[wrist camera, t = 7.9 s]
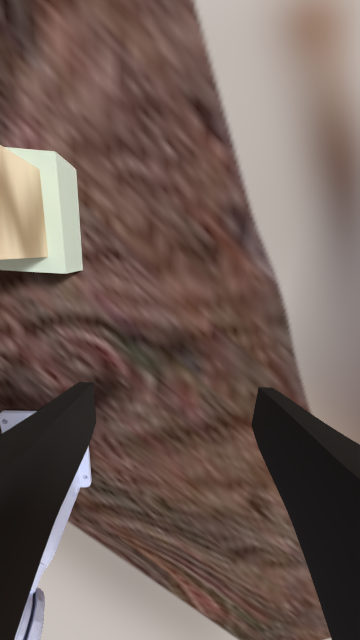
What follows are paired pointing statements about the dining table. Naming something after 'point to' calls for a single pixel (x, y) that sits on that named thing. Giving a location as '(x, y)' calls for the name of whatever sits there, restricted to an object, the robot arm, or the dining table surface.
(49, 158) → the base block
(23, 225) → the maple cube
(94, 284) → the dining table surface
